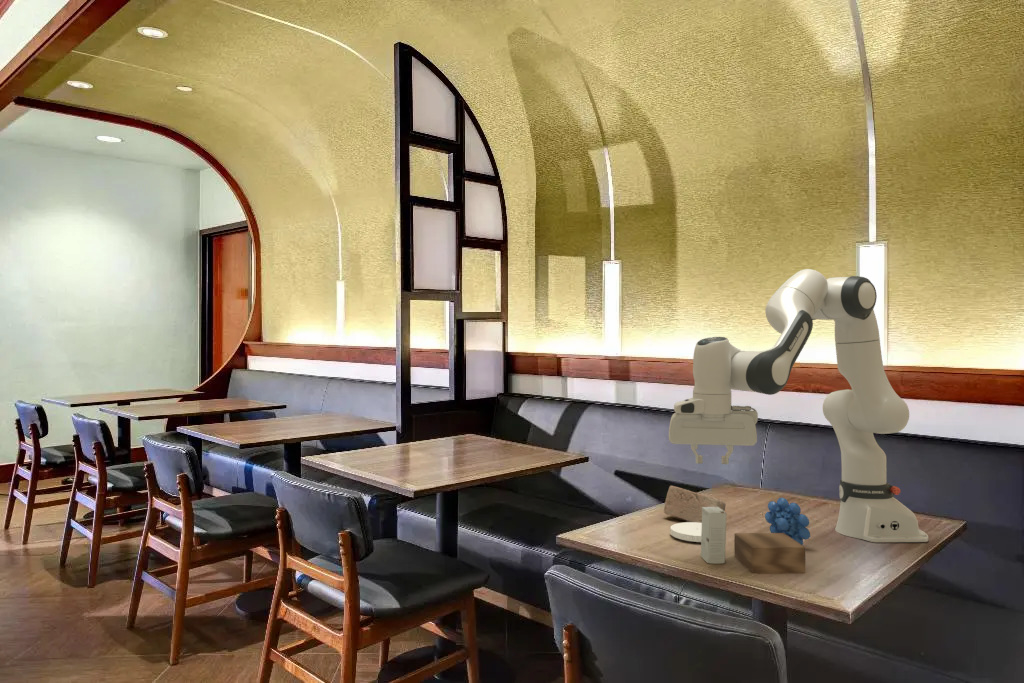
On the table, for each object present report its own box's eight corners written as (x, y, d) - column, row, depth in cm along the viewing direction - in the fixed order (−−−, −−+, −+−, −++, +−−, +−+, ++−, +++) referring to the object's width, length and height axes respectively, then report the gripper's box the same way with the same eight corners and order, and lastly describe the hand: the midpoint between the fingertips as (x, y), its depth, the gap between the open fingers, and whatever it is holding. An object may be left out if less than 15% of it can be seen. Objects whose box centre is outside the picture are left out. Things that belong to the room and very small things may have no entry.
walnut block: (783, 557, 175) (783, 532, 175) (805, 573, 163) (805, 547, 163) (734, 558, 174) (734, 533, 174) (752, 574, 163) (752, 547, 162)
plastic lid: (660, 538, 191) (660, 529, 191) (687, 528, 202) (687, 519, 201) (708, 549, 182) (708, 539, 182) (734, 538, 192) (734, 528, 192)
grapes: (757, 544, 185) (757, 497, 185) (769, 539, 190) (769, 493, 190) (802, 554, 177) (802, 505, 177) (813, 548, 182) (814, 500, 182)
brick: (726, 501, 201) (718, 498, 198) (719, 530, 200) (711, 528, 197) (677, 487, 213) (668, 484, 210) (670, 515, 212) (661, 513, 209)
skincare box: (700, 556, 175) (700, 506, 175) (718, 556, 175) (718, 506, 175) (707, 564, 169) (708, 512, 169) (726, 564, 169) (727, 512, 169)
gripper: (755, 404, 173) (755, 462, 173) (668, 403, 176) (668, 460, 177) (759, 407, 167) (759, 467, 167) (669, 406, 170) (669, 464, 170)
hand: (712, 463), depth 172 cm, fingers open, 5 cm apart
